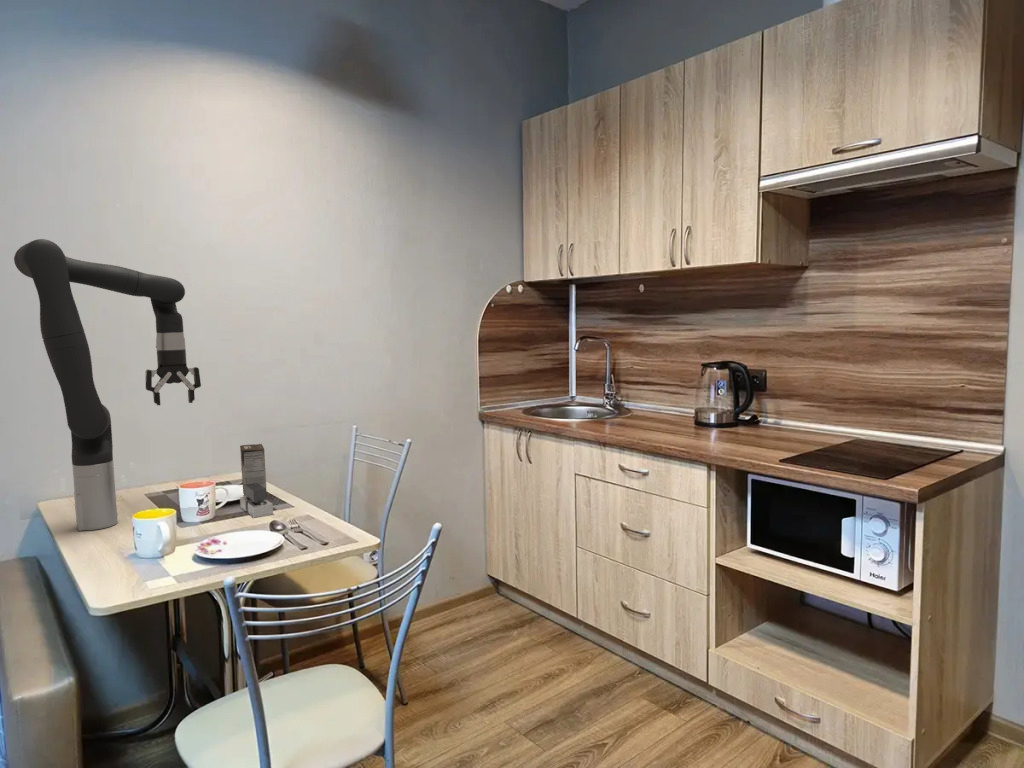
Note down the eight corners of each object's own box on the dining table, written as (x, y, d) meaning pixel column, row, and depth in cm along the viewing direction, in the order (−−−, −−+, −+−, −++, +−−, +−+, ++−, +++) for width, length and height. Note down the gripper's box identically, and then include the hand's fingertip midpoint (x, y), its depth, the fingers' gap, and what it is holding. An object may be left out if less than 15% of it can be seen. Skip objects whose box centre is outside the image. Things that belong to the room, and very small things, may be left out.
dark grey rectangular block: (254, 515, 187) (253, 490, 186) (245, 508, 194) (244, 484, 193) (267, 513, 189) (266, 488, 188) (257, 506, 196) (256, 482, 195)
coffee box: (242, 496, 207) (239, 445, 206) (264, 494, 210) (262, 443, 208) (244, 503, 199) (241, 450, 197) (267, 501, 202) (264, 448, 200)
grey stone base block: (253, 517, 185) (253, 504, 184) (240, 507, 195) (239, 495, 195) (273, 514, 188) (272, 501, 187) (259, 504, 198) (258, 492, 198)
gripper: (145, 349, 188) (149, 407, 189) (200, 347, 196) (203, 402, 198) (141, 349, 194) (145, 404, 195) (194, 347, 202) (198, 400, 204)
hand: (174, 403), depth 197 cm, fingers open, 8 cm apart
